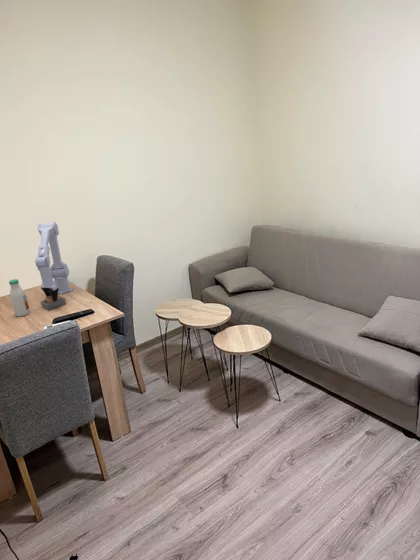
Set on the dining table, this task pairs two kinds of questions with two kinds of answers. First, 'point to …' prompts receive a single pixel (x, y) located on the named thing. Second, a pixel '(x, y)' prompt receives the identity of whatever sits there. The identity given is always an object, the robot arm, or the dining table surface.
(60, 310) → the dining table surface
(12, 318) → the dining table surface
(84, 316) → the dining table surface
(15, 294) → the milk bottle
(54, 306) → the large crate
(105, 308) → the dining table surface
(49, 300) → the small crate
